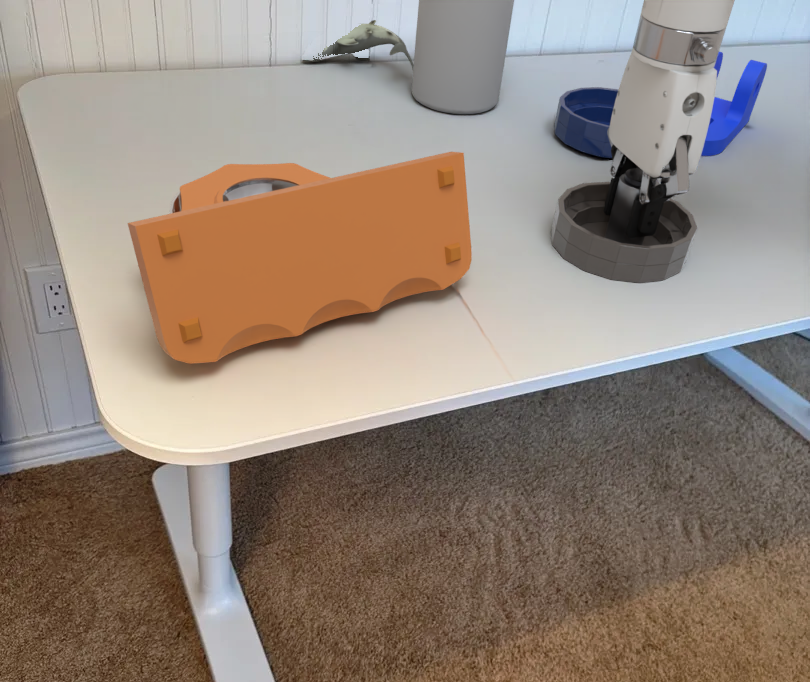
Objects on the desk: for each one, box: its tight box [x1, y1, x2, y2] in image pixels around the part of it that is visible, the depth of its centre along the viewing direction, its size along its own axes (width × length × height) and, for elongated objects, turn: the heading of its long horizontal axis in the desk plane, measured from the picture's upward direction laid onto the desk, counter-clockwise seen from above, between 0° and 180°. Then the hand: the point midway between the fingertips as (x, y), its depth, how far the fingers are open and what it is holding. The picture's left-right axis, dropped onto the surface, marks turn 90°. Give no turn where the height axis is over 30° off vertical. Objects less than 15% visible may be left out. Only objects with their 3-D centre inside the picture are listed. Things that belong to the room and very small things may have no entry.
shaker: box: [605, 168, 660, 245], centre depth 85 cm, size 4×4×8 cm
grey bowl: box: [550, 181, 698, 284], centre depth 87 cm, size 14×14×4 cm
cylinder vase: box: [411, 0, 515, 115], centre depth 110 cm, size 12×12×25 cm
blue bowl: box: [553, 86, 619, 160], centre depth 110 cm, size 14×14×4 cm
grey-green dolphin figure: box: [313, 19, 414, 70], centre depth 124 cm, size 14×17×8 cm
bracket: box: [701, 51, 768, 157], centre depth 113 cm, size 18×8×9 cm, turn 148°
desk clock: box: [127, 151, 473, 365], centre depth 76 cm, size 12×30×20 cm
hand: (628, 222), depth 86 cm, fingers closed on shaker, 4 cm apart
